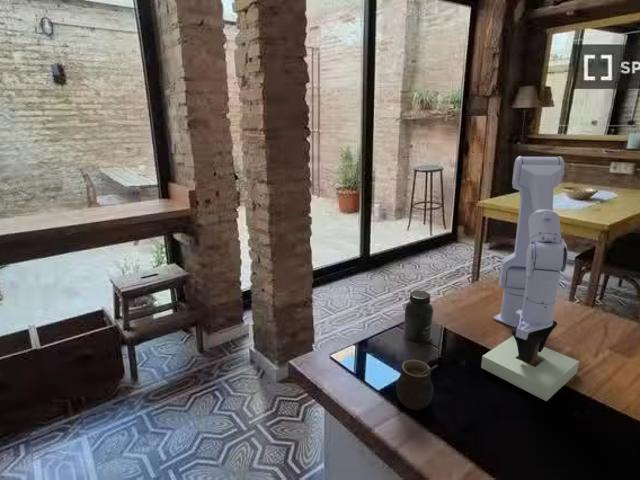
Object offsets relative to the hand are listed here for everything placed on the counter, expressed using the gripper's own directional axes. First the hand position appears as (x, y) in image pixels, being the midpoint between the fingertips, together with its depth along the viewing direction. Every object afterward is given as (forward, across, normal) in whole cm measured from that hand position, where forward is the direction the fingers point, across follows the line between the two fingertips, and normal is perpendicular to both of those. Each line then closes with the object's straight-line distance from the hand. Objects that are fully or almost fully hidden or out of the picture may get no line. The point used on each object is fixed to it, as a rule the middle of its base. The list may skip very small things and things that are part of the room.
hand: (530, 355), depth 86 cm
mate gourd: (+4, +26, -11) cm, 29 cm away
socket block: (+4, 0, 0) cm, 4 cm away
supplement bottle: (+4, +6, -24) cm, 26 cm away
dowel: (+4, 0, 0) cm, 4 cm away
